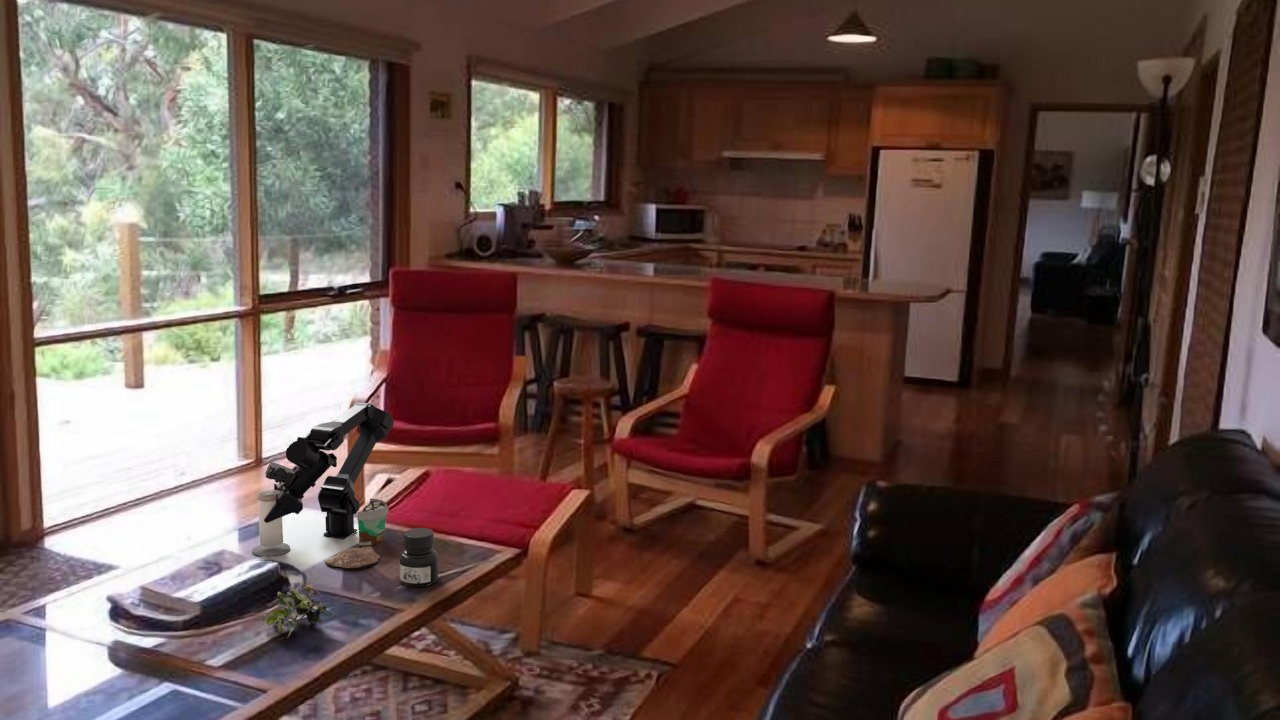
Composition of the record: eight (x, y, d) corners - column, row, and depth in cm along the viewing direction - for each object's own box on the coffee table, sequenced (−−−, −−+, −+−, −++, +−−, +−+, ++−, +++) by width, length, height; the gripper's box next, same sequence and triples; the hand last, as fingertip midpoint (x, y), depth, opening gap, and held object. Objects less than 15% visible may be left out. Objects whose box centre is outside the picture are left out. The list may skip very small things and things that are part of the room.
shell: (391, 561, 257) (391, 548, 256) (349, 576, 247) (349, 562, 246) (361, 550, 264) (361, 537, 263) (319, 564, 254) (319, 550, 253)
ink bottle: (390, 584, 242) (390, 535, 240) (412, 571, 250) (411, 524, 248) (426, 591, 239) (425, 541, 237) (446, 578, 247) (446, 530, 245)
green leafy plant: (311, 647, 221) (344, 605, 220) (284, 661, 210) (319, 616, 209) (274, 612, 223) (306, 570, 221) (245, 624, 212) (279, 579, 211)
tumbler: (288, 540, 263) (286, 491, 260) (274, 547, 257) (271, 497, 255) (269, 537, 264) (266, 488, 262) (254, 545, 259) (252, 495, 257)
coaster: (297, 547, 264) (297, 545, 264) (275, 558, 255) (275, 557, 255) (267, 542, 267) (267, 540, 266) (244, 554, 258) (244, 552, 258)
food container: (381, 551, 263) (381, 513, 261) (357, 550, 263) (357, 512, 261) (394, 534, 275) (393, 498, 273) (371, 533, 275) (370, 497, 274)
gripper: (282, 442, 266) (238, 487, 264) (287, 461, 249) (240, 510, 247) (315, 469, 271) (272, 513, 269) (321, 490, 254) (276, 537, 252)
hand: (264, 518), depth 259 cm, fingers closed on tumbler, 5 cm apart
